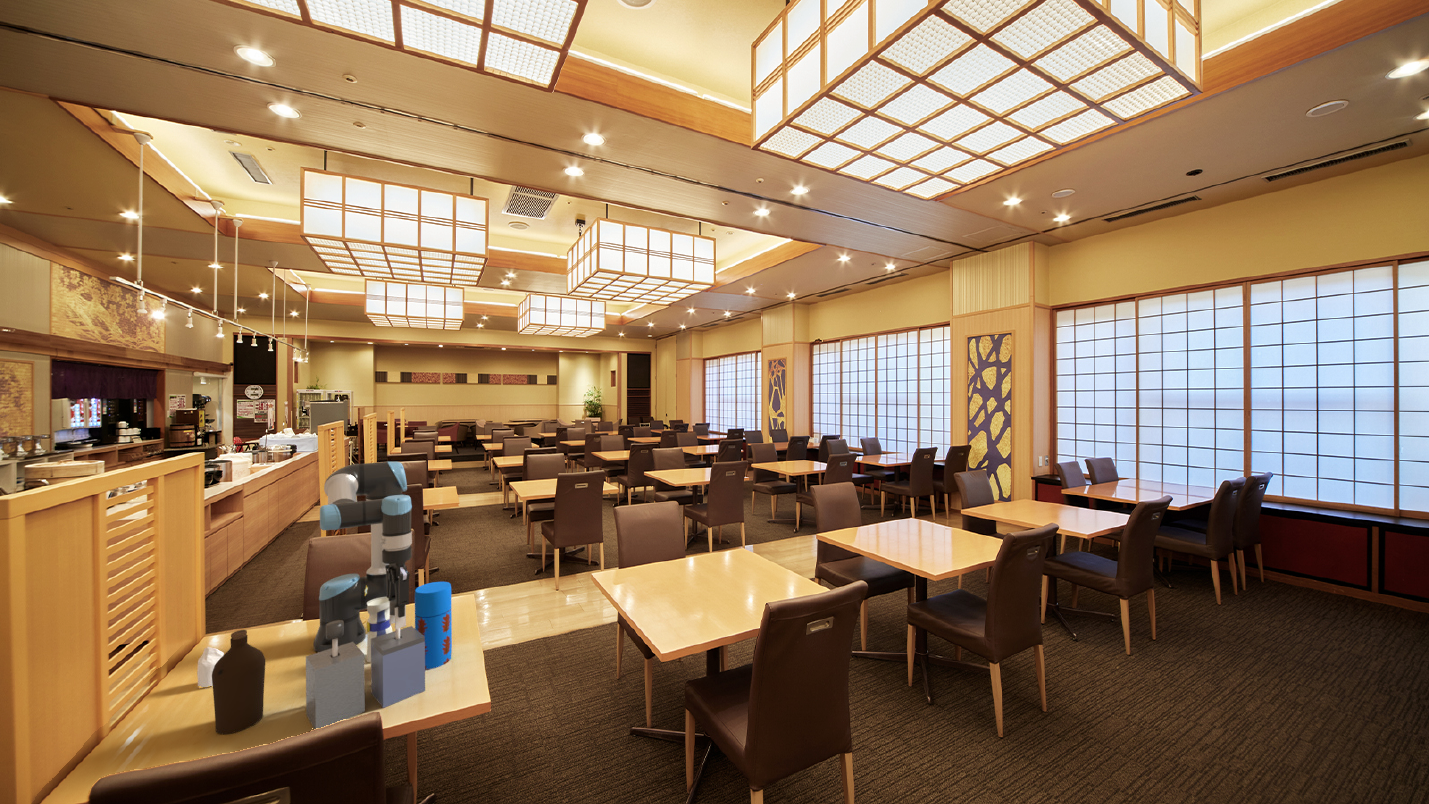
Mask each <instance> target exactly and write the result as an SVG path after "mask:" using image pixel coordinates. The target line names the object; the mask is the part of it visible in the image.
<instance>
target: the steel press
mask: <svg viewBox="0 0 1429 804" xmlns="http://www.w3.org/2000/svg"><path fill="white" fill-rule="evenodd" d="M305 695H306V696H305V698H306V699H305V706H306V707H305V708H306V710H305V711H306V712H305V713H306V714H305V715H306V717H307V719H308V721H309V723H310V724H311V726H312V728H313V730H314V729H316V728H321V727H324V726H326V725H330V724H332V723H335V722H337V721H340V720H343V719H346V720H348V719H350V718H354V717H355V716H358V715H361V714H363V713H365V710H366V709H365V708H366V707H365V706H366V703H365V698H366V697H365V695H366V694H365V652H363V651H362V650H361V649H360V648H359V646H357V645H355V643H354V642H350V643H347V644H344V645H341V646H338V656H336V657H333V658H332V648H331V649H328V650H325V651H322V652H317V653H316V652H315V653H313V654H310V655H309V654H308V655H306V656H305Z"/></svg>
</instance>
